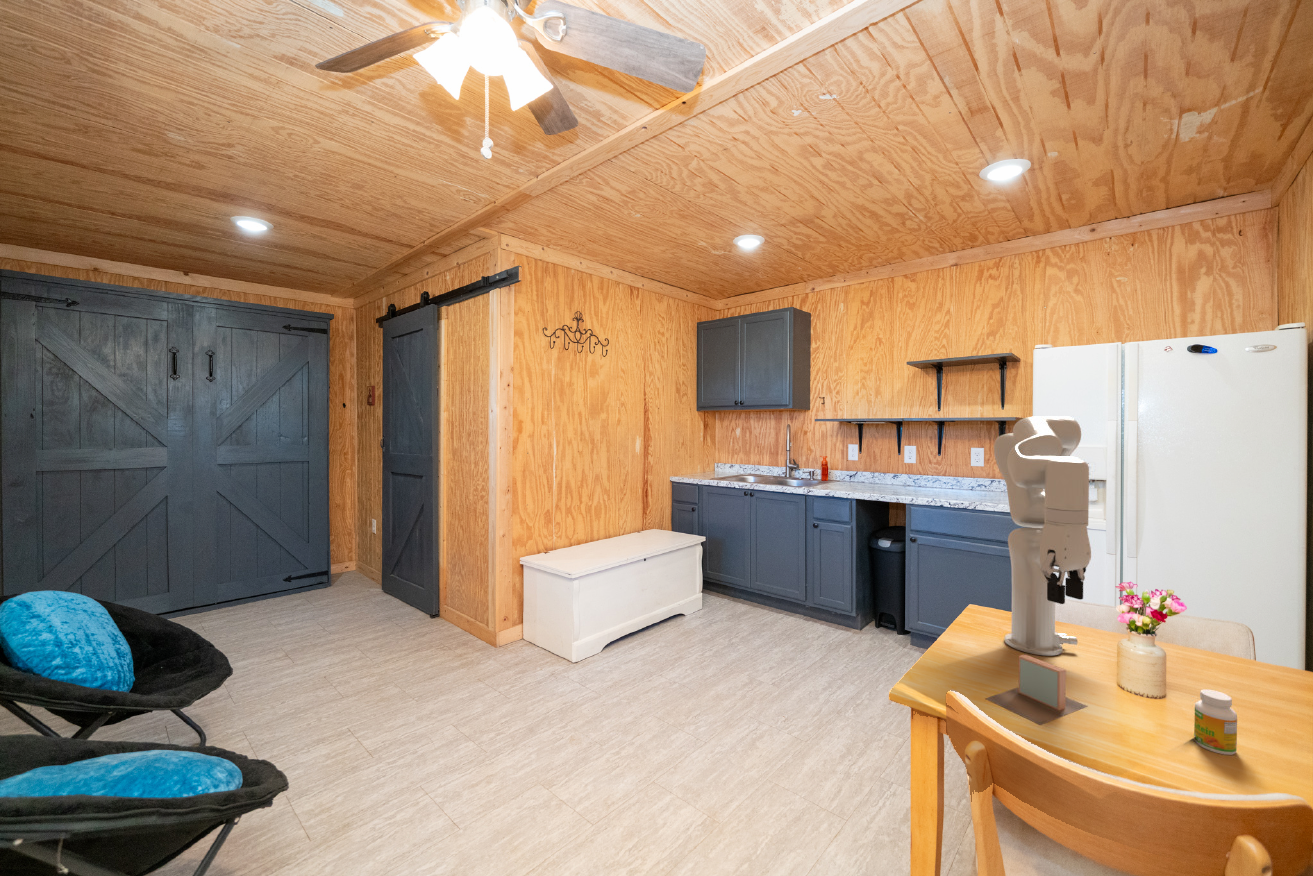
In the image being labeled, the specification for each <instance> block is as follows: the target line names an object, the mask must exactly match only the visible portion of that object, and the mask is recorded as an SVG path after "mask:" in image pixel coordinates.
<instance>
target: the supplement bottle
mask: <svg viewBox="0 0 1313 876" xmlns="http://www.w3.org/2000/svg"><path fill="white" fill-rule="evenodd" d="M1199 697H1200V699H1199V700H1198V701H1196V702H1195V703H1194V728H1193V729H1194V730H1193V731H1194V732H1193V735H1194V737H1193V740H1194V742H1195V743H1196V744H1197V745H1198V746H1200V747H1201V748H1203V749H1206V750H1208V751H1210V752H1213V753H1216V754H1220V755H1225V756H1230V755H1235V754H1236V753H1237V747H1238V746H1237V745H1238V744H1237V743H1238V741H1237V740H1238V739H1237V738H1238V735H1237V734H1238V732H1237V731H1238V714H1237V712H1236V711H1235V710H1234V709H1233V708H1231V707H1232V705H1233V699H1232V697H1231V696H1230V695H1229V694H1226V693H1224V692H1221V691H1217V690H1213V689H1207V688H1206V689H1201V690H1200V694H1199Z"/></svg>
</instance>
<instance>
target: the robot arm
mask: <svg viewBox="0 0 1313 876" xmlns="http://www.w3.org/2000/svg"><path fill="white" fill-rule="evenodd" d="M1081 440H1082V428H1081V426H1080V424H1079V421H1077V420H1076V419H1074V418H1073V417H1070V416H1065V415H1064V416H1058V415H1057V416H1029V417H1023V418H1022V419H1019V420H1018V421H1016V423H1015V424H1014V425H1013V427H1012V432H1011V433H1005V434H1001V435H999V436H998V437H997V438H996V439H995V441H994V443H993V454H994V459H995V463H996V467H997V469H998V470H999V472H1000V473H1001V476H1002V477H1003V480H1004V482H1005V484H1006V485H1005V486H1006V490H1007V491H1006V492H1007V498H1008V505H1009V507H1008V508H1009V512H1010V517H1011V520H1012V522H1014V524H1015V525H1017V526H1021V527H1019V528H1015V529H1013V530H1012V531H1011V532H1010V533H1009V534H1008V537H1007V546H1008V551H1009V558H1010V564H1011V632H1010V633H1007V634H1005V636H1004V643H1005V644H1006V645H1008V646H1009V647H1011V648H1013V649H1015V650H1018V651H1020V652H1024V653H1028V654H1031V655H1036V656H1037V655H1038V656H1045V657H1047V656H1049V657H1051V656H1052V657H1053V656H1057V655H1060V654H1062V653H1063V645H1064V644H1068V645H1074V646H1075V645H1078V643H1079V641H1078V638H1077V637H1076V636H1070V635H1069V636H1068V635H1067V634H1066V633H1058V632H1057V631H1056V604H1058V605H1064V604H1065V603H1066V597H1069V598H1072V599H1076V600H1080V601H1081V600H1083V599H1084V581H1085V580H1086V579H1085V577H1086V576H1085V573H1086V571H1087V567H1088V565H1089V564H1090V562H1091V560H1092V559H1091V558H1092V550H1091V549H1092V547H1091V543H1090V539H1089V538H1090V537H1089V534H1088V533H1089V531H1088V528H1087V527H1088V526H1089V512H1090V510H1089V509H1090V508H1089V507H1090V505H1089V502H1090V501H1089V499H1090V493H1089V491H1090V489H1089V488H1090V485H1089V484H1090V466H1089V464H1088V463H1087V462H1086V461H1085V460H1082V458H1079V457H1075V456H1071V455H1072V454H1073V453H1074V451H1075V450H1076V449H1077V448H1078V446H1079V445H1080V443H1081ZM1055 567H1056V568H1055ZM1057 568H1058V569H1057ZM1056 573H1058V576H1057V574H1056ZM1065 575H1067V577H1065ZM1064 580H1065V582H1064ZM1064 583H1065V585H1064Z"/></svg>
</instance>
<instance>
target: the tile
mask: <svg viewBox="0 0 1313 876" xmlns="http://www.w3.org/2000/svg"><path fill="white" fill-rule="evenodd" d="M1066 671H1067V669H1065V668H1064V667H1063V668H1062V667H1059V666H1057V665H1055V664H1052V663H1049V662H1046V661H1043V660H1041V659H1038V658H1035V657H1033V656H1030V655H1028V654H1022V655H1019V656H1018V687H1019V693H1021V694H1023V695H1026V696H1028V697H1030V698H1032V699H1035V700H1037V701H1039V702H1041V703H1044V704H1046V705H1048V706H1050V707H1053V708H1055V709H1057V710H1062V709H1065V697H1066V687H1067V686H1066V685H1067V684H1066V681H1067V680H1066V679H1067V677H1066V675H1067V674H1066V673H1067V672H1066Z"/></svg>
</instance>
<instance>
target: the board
mask: <svg viewBox="0 0 1313 876" xmlns="http://www.w3.org/2000/svg"><path fill="white" fill-rule="evenodd" d="M984 699H985V700H987V701H989V702H991V703H993V704H995V705H998V706H999V707H1000V708H1003V709H1005V710H1008V711H1010V712H1012V713H1014V714H1016V715H1019V716H1020V717H1022V718H1024V719H1027V720H1029V721H1031V722H1033V723H1035V724H1037V725H1038V726H1042V725H1044V724H1047V723H1050V722H1052V721H1055V720H1057V719H1060V718H1062V717H1065V716H1067V715H1070V714H1072V713H1074V712H1077V711H1080V710H1082V709H1084V708H1087V707H1088V705H1086V704H1084V703H1082V702H1078V701H1076V700H1074V699H1072V698H1069V697H1067V696H1065V709H1062V710H1057V709H1055V708H1053V707H1050V706H1048V705H1046V704H1044V703H1041V702H1039V701H1037V700H1035V699H1032V698H1030V697H1028V696H1026V695H1023V694H1021V693H1019V686H1018V687H1015V688H1012V689H1009V690H1006V691H1003V692H1000V693H997V694H995V695H991V696H988V697H986V698H984Z"/></svg>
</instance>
